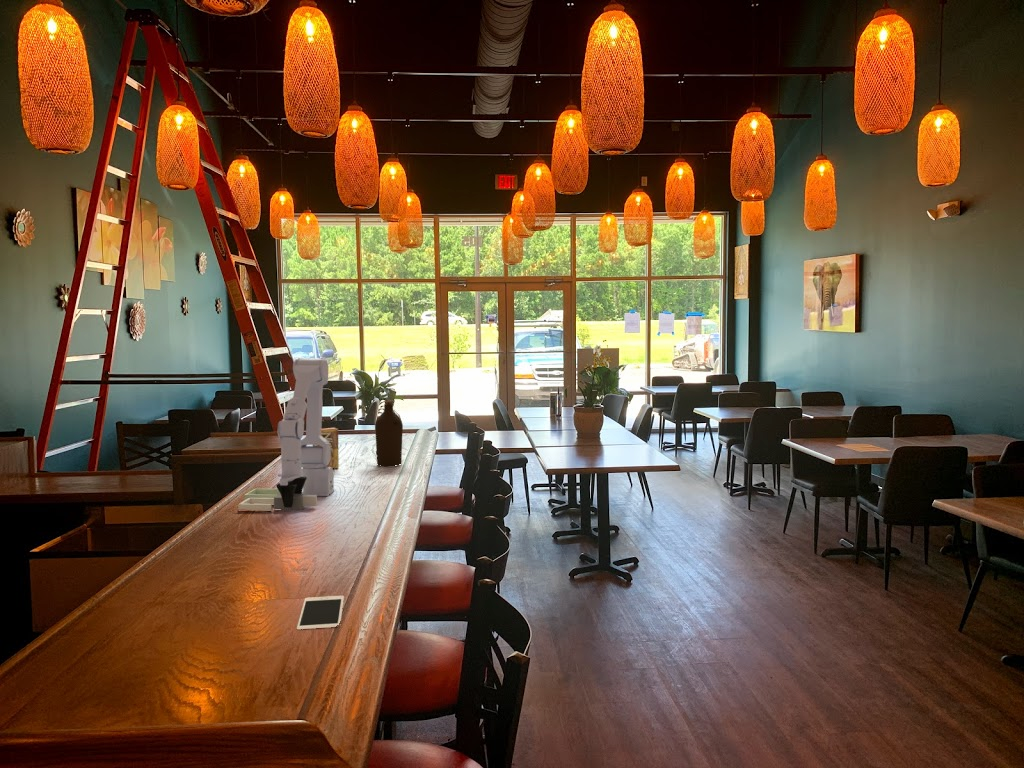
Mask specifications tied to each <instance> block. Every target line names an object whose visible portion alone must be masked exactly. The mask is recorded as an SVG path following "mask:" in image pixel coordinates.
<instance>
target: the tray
mask: <svg viewBox="0 0 1024 768" xmlns="http://www.w3.org/2000/svg"><path fill="white" fill-rule="evenodd" d="M278 494H280V492H279V490H278V489H277V488H253V489H252V490H250V491H248V492H246V493H245V494H243V499H244V500H246V499H248V498H274V497H275V496H277V495H278ZM244 500H243V501H244Z"/></svg>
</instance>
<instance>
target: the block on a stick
mask: <svg viewBox="0 0 1024 768" xmlns="http://www.w3.org/2000/svg"><path fill="white" fill-rule="evenodd" d="M317 506H318V496H317V495H305V494H294V497H293V505H292V507H291V508H287V507H284V504H283V500H282V497H281V494H278V495H277V496H275V497H274V506H273V510H274V509H281V510H280V511H302V510H303V509H304V508H306V507H317Z"/></svg>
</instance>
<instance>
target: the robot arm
mask: <svg viewBox="0 0 1024 768" xmlns="http://www.w3.org/2000/svg"><path fill="white" fill-rule="evenodd" d="M292 363H293V364H292V372H293V375H294V379H295V380H296V381H295V385H294V391H293V397H292V398H290V399H289V400H288V401H287V405H286V408H285V411H284V415H283V418H282V419H281V420H279V422H278V423H277V430H276V431H277V436H278V442H279V445H280V453H281V457H280V458H281V461H280V462H281V472H280V473H277V477H280V479H279V482H278V483H277V484H276V489H278V490H279V492H280V494H281V497H282V500H283V504H284V507H287V508H291V507H292V505H293V497H294V494H305V495H317V497H328V496H330V495H331V494H332V493H333V492H335V487H334V486H335V485H334V482H335V481H334V479H335V478H334V469H333V468H332V467H327V465H328V464H329V462H330V459H331V451H330V443H329V442H328V441H327V440H326V439H325V438H323V437H322V436H321V429H323V428H322V425H323V422H322V421H323V419H322V418H323V391H324V386H325V385H327V384H328V383H329V382H328V381H329V364H328V361H327V360H326V358H324V357H323V358H300V357H296V358H295V360H294V361H293V362H292ZM305 415H306V422H305V419H304V418H305ZM305 427H306V428H305ZM304 432H305V433H304ZM304 434H305V437H303V436H304ZM313 445H321V446H313ZM329 494H330V495H329Z"/></svg>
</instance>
